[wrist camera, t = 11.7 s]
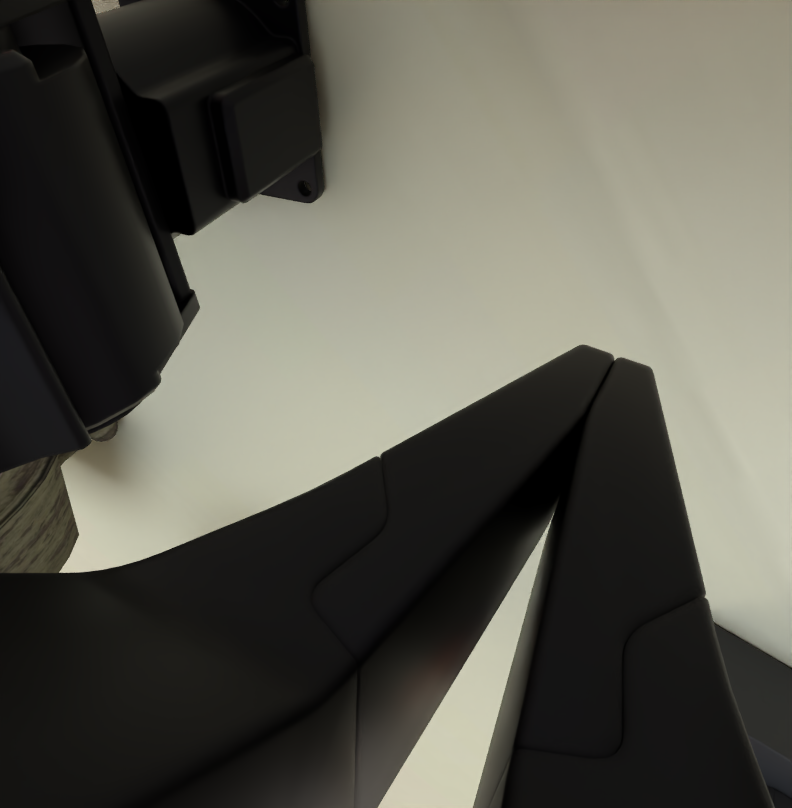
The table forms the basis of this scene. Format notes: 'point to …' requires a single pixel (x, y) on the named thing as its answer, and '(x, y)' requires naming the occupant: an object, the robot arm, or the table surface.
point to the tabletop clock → (38, 514)
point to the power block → (763, 710)
